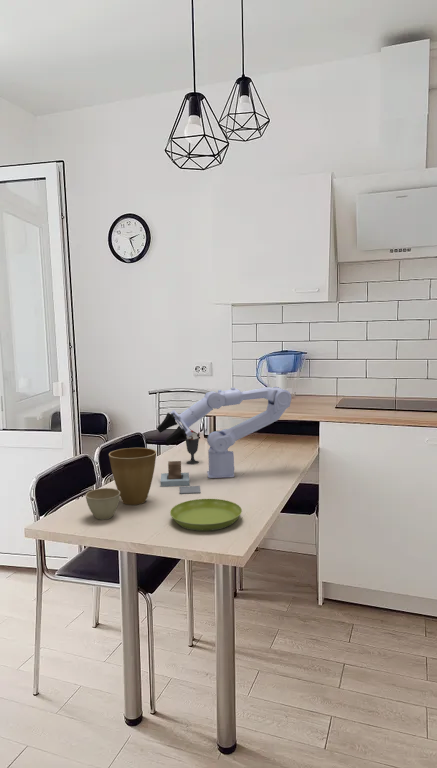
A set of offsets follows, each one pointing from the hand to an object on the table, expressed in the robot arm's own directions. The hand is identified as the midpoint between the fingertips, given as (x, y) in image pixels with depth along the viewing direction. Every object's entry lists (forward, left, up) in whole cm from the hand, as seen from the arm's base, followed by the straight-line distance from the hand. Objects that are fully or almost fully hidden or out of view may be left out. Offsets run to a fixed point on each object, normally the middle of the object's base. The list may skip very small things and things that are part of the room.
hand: (162, 436), depth 201 cm
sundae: (-11, -22, -16) cm, 30 cm away
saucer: (-13, +42, -16) cm, 47 cm away
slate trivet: (-9, +14, -16) cm, 23 cm away
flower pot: (+17, +36, -16) cm, 43 cm away
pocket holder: (-4, +3, -16) cm, 17 cm away
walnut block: (-4, +3, -16) cm, 17 cm away
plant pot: (+9, +23, -16) cm, 29 cm away
